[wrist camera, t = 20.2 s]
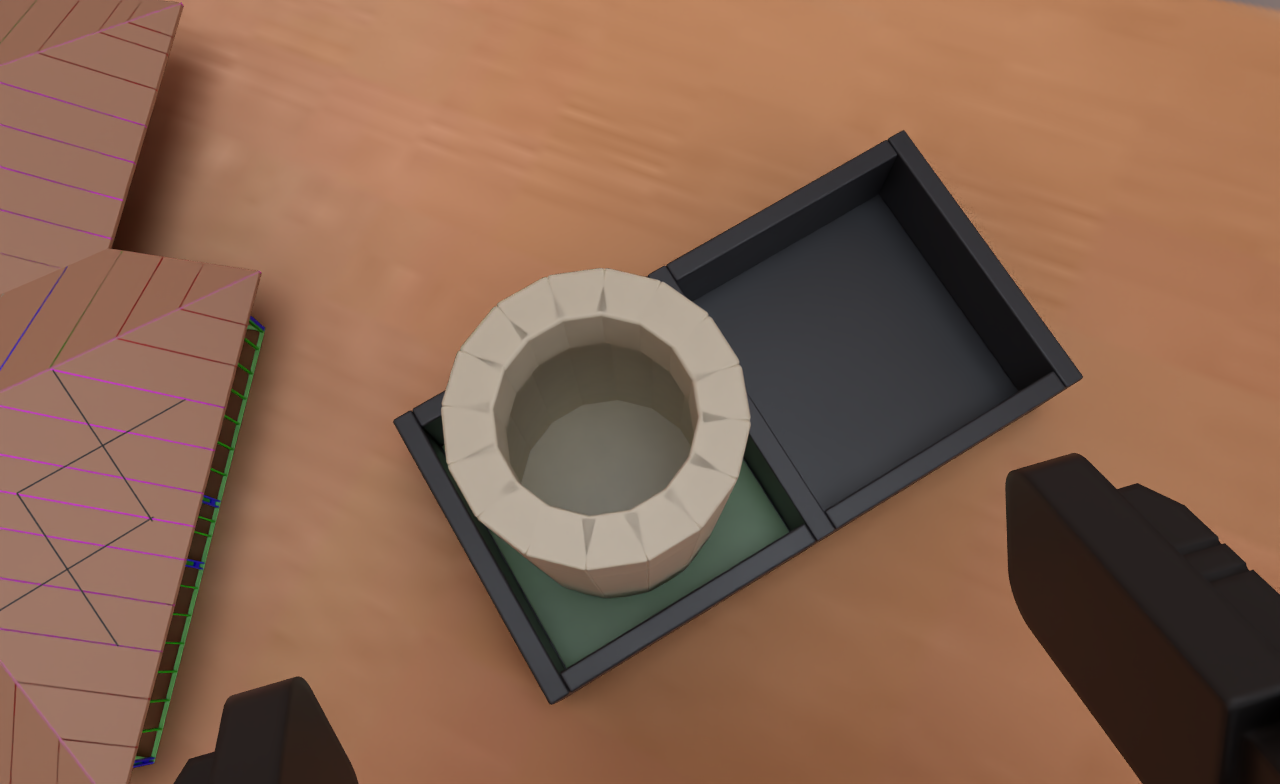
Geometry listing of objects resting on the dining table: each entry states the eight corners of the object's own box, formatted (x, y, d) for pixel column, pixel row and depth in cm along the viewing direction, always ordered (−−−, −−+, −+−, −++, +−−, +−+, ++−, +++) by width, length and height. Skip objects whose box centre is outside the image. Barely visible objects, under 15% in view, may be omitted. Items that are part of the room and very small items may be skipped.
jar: (648, 355, 32) (648, 217, 22) (756, 528, 31) (808, 465, 21) (472, 457, 32) (388, 362, 21) (575, 638, 30) (537, 628, 20)
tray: (879, 179, 35) (904, 128, 31) (1040, 405, 33) (1084, 376, 29) (417, 444, 33) (391, 420, 29) (560, 700, 31) (550, 705, 27)
